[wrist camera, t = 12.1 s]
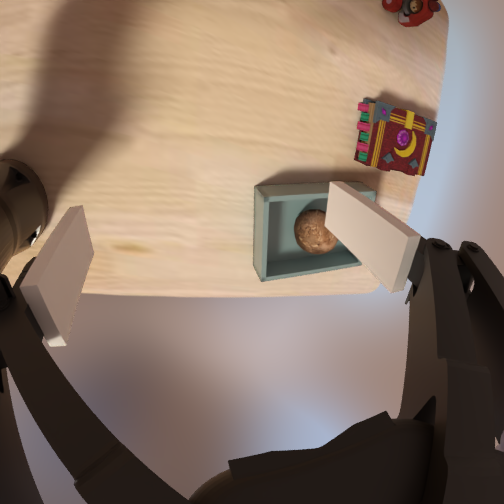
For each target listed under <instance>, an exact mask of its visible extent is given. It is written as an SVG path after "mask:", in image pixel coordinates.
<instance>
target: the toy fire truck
mask: <svg viewBox="0 0 504 504" xmlns="http://www.w3.org/2000/svg"><path fill="white" fill-rule="evenodd" d="M436 1H438V0H383V1H382V5H383V7H384V9H386V10H388V11H390V12H397V11H399V16H398V22H399V23H400V24H401V25H403V26H405V27H414V26H419V25H420V24H422V23H424V22H425V21H427V20H429V19H430V18H432V17H433V14H434V12H438V11H440V9H441V6H440V4H439V3H438V2H436Z"/></svg>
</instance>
